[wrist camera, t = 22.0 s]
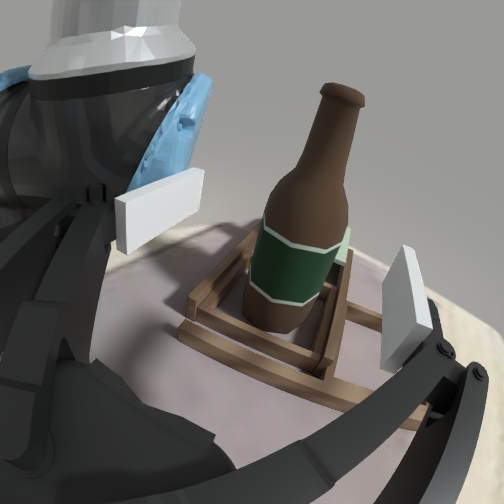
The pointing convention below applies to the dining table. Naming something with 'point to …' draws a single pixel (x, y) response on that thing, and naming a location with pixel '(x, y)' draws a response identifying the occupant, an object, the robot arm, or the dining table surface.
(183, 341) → the brown flat frame
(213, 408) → the dining table surface
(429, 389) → the robot arm
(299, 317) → the beer bottle
